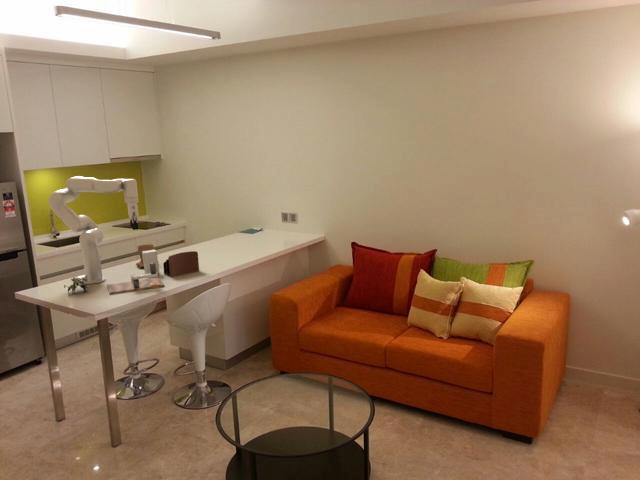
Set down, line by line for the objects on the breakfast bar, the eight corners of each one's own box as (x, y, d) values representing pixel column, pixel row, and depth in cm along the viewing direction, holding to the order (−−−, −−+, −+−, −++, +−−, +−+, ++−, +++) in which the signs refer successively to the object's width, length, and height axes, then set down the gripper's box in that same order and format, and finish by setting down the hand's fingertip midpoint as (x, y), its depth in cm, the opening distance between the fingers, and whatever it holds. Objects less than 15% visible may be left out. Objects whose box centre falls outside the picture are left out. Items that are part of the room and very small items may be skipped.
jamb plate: (109, 294, 303) (108, 284, 302) (107, 286, 319) (106, 277, 318) (164, 286, 316) (163, 277, 315) (159, 279, 332) (158, 270, 331)
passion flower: (86, 300, 312) (94, 285, 308) (68, 302, 303) (76, 286, 299) (76, 287, 317) (85, 272, 313) (59, 288, 307) (67, 273, 303)
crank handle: (132, 280, 308) (131, 267, 307) (131, 278, 312) (129, 265, 310) (158, 276, 315) (156, 263, 313) (156, 274, 319) (155, 262, 317)
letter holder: (199, 271, 348) (197, 250, 346) (170, 277, 336) (168, 255, 334) (192, 268, 356) (191, 247, 353) (163, 274, 344) (161, 252, 341)
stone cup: (150, 262, 377) (148, 241, 374) (161, 264, 370) (159, 242, 367) (131, 266, 365) (129, 245, 362) (141, 269, 358) (139, 247, 355)
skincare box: (157, 271, 351) (155, 249, 348) (159, 273, 346) (157, 250, 342) (144, 273, 347) (141, 250, 344) (146, 275, 342) (143, 252, 339)
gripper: (140, 201, 315) (143, 230, 318) (136, 197, 330) (139, 225, 334) (126, 202, 312) (129, 231, 315) (123, 198, 327) (126, 226, 330)
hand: (134, 228), depth 324 cm, fingers open, 9 cm apart
